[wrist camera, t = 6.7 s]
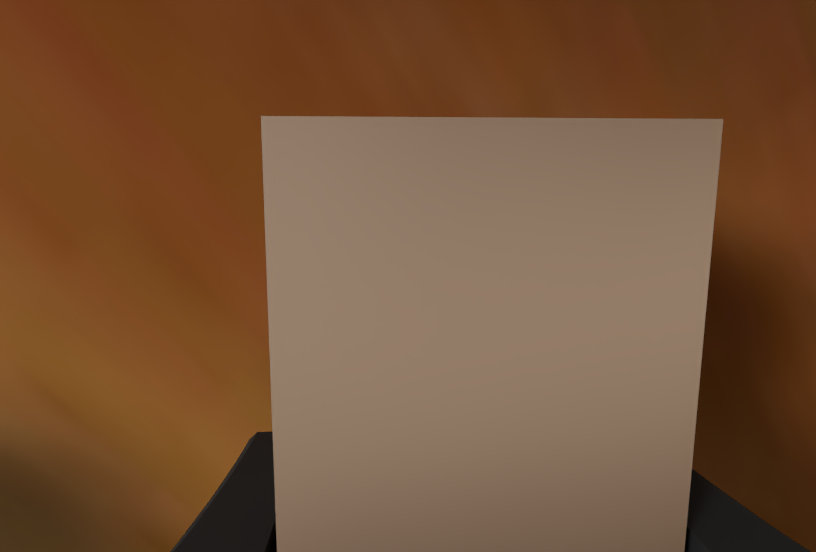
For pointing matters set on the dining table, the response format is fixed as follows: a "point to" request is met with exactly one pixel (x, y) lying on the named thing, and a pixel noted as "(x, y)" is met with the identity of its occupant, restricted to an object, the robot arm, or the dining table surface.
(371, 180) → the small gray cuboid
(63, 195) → the dining table surface
